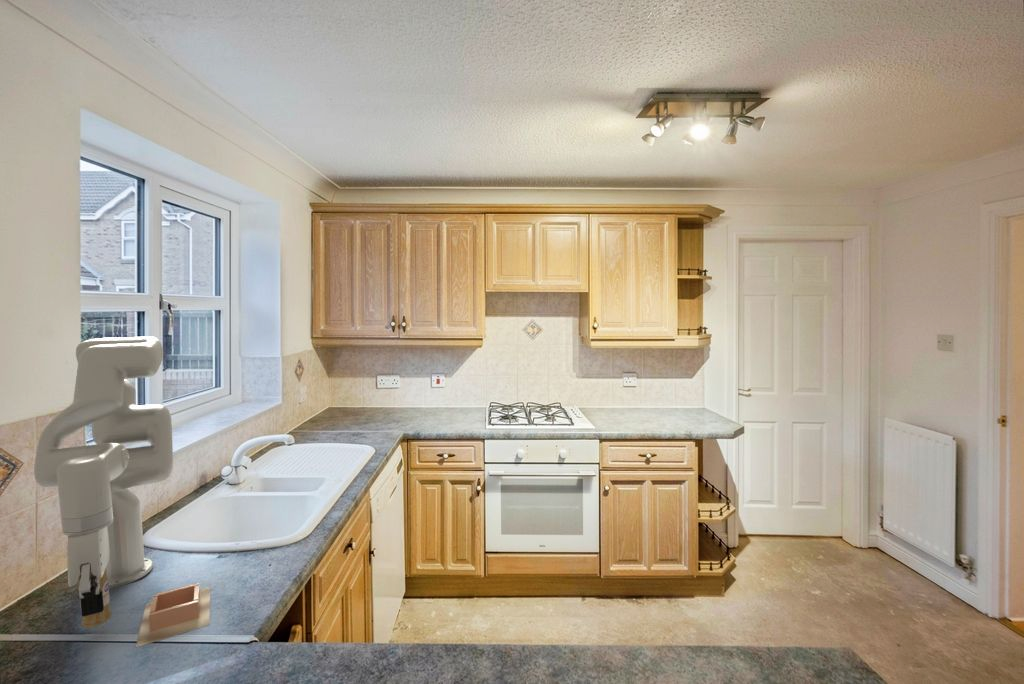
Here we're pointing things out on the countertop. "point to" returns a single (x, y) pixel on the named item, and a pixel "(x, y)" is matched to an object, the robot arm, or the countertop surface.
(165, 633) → the stand board
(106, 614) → the sprinkles bottle
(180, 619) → the collar
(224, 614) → the countertop surface
